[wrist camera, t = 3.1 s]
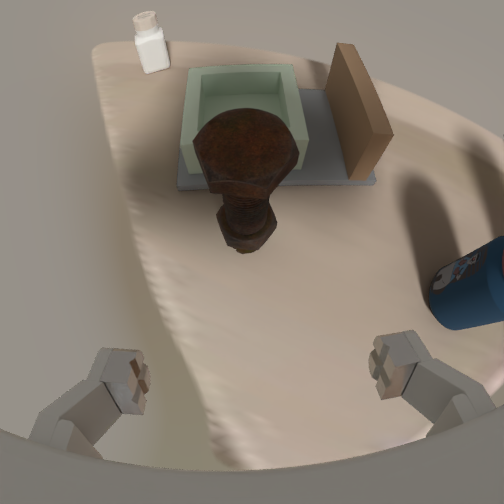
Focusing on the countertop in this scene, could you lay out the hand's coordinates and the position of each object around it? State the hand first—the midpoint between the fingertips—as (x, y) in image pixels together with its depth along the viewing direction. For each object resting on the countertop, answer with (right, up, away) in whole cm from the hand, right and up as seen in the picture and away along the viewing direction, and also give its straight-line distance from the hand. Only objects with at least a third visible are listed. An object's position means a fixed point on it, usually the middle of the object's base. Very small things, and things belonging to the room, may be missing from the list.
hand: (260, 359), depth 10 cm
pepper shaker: (-14, +31, +28) cm, 45 cm away
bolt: (-1, +5, +20) cm, 20 cm away
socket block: (-1, +17, +22) cm, 28 cm away
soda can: (+21, -2, +18) cm, 28 cm away
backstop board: (+2, +17, +24) cm, 29 cm away
